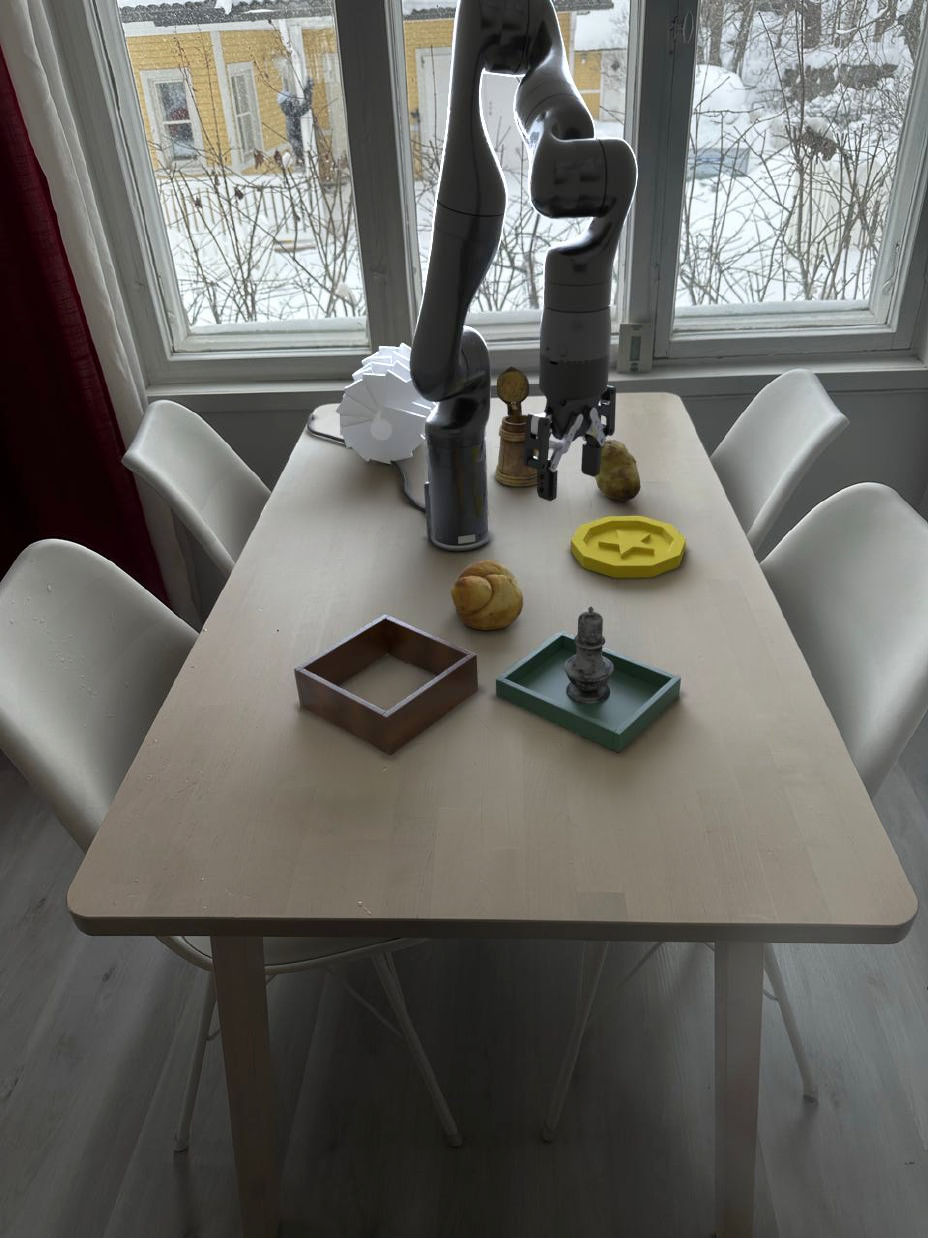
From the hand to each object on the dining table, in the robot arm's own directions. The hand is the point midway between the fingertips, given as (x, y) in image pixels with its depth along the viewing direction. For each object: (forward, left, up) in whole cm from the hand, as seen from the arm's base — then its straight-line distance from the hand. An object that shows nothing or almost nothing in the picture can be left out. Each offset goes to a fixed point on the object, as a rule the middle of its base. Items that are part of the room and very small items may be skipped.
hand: (569, 486), depth 108 cm
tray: (+7, -6, -24) cm, 25 cm away
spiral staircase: (-71, +41, -24) cm, 85 cm away
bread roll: (-15, +2, -24) cm, 28 cm away
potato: (-23, +47, -24) cm, 58 cm away
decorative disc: (-9, +29, -24) cm, 39 cm away
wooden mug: (-42, +44, -24) cm, 65 cm away
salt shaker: (+7, -6, -23) cm, 25 cm away
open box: (-12, -21, -24) cm, 34 cm away
